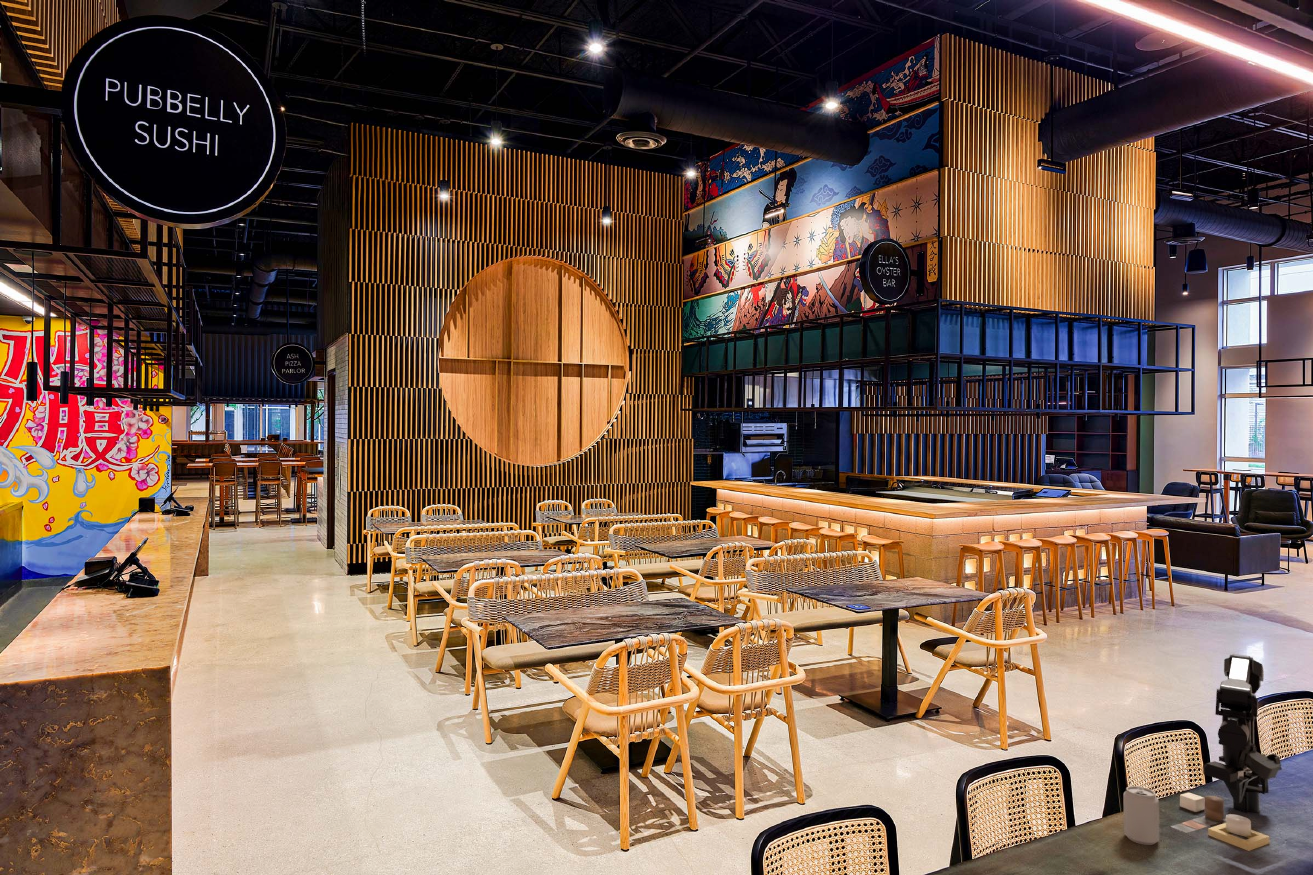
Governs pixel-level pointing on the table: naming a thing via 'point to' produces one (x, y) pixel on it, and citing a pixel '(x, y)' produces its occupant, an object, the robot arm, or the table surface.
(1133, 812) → the can
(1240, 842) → the box
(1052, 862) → the table surface
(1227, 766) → the robot arm
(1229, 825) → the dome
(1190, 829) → the makeup compact
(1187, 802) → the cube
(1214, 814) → the brown capsule
